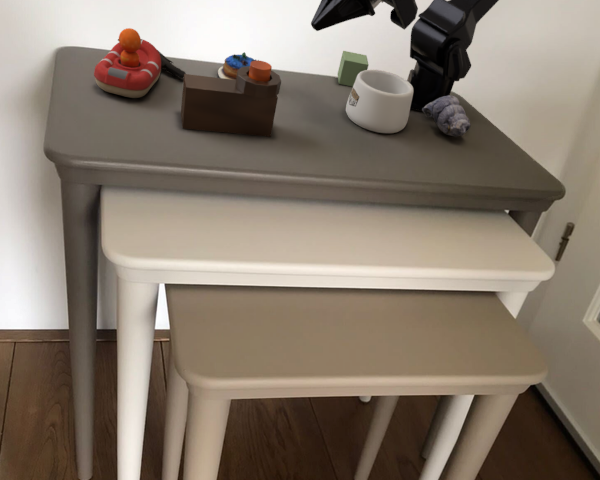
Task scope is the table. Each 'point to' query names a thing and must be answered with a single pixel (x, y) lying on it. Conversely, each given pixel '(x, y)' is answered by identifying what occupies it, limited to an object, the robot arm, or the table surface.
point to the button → (260, 70)
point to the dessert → (234, 66)
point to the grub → (448, 115)
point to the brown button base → (230, 103)
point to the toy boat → (129, 66)
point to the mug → (380, 101)
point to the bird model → (170, 67)
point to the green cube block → (351, 67)
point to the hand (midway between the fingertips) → (313, 27)
